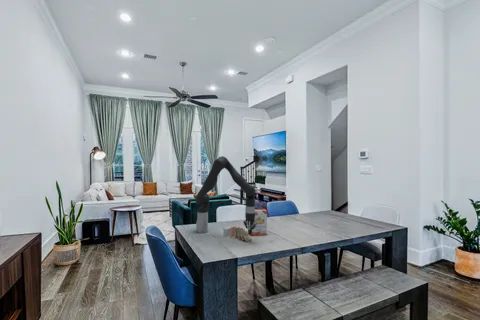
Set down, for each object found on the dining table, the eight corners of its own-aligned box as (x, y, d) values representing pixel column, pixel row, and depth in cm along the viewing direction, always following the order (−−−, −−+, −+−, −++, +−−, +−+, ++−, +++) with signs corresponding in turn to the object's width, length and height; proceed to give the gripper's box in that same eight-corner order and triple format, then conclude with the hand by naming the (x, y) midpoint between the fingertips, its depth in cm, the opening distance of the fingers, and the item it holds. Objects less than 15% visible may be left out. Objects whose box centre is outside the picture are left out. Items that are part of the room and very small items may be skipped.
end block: (223, 235, 206) (223, 228, 206) (232, 233, 213) (232, 226, 213) (225, 236, 204) (225, 229, 204) (234, 234, 211) (234, 227, 211)
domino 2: (234, 238, 201) (234, 228, 201) (238, 236, 204) (238, 227, 204) (235, 238, 199) (235, 228, 200) (240, 237, 203) (240, 227, 203)
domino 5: (246, 241, 191) (241, 233, 195) (250, 240, 195) (245, 231, 199) (247, 240, 190) (242, 231, 195) (251, 239, 194) (246, 230, 198)
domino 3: (238, 239, 197) (237, 229, 198) (242, 238, 201) (241, 227, 202) (239, 239, 196) (238, 229, 197) (244, 238, 200) (242, 227, 201)
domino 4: (242, 240, 194) (238, 230, 197) (246, 239, 198) (243, 229, 201) (243, 239, 193) (239, 230, 196) (247, 238, 197) (244, 228, 200)
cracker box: (250, 236, 206) (251, 210, 207) (249, 234, 212) (249, 209, 213) (267, 235, 209) (267, 210, 209) (264, 233, 215) (265, 209, 215)
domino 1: (230, 236, 204) (230, 227, 204) (234, 235, 207) (234, 226, 207) (231, 237, 202) (231, 227, 203) (236, 236, 206) (236, 226, 206)
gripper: (259, 212, 190) (259, 235, 190) (247, 210, 199) (247, 231, 199) (253, 213, 185) (253, 237, 185) (240, 211, 194) (240, 233, 194)
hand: (249, 234), depth 192 cm, fingers closed
